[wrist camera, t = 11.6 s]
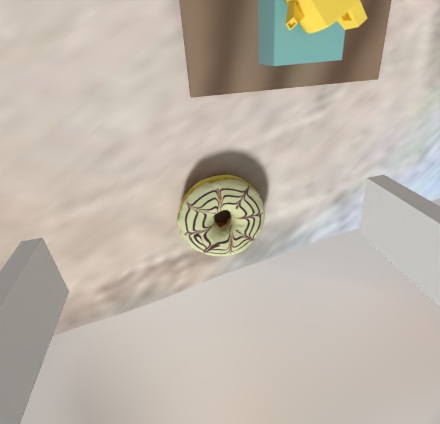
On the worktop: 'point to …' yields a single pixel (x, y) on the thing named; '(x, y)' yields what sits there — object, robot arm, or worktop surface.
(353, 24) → the teapot
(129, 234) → the worktop surface
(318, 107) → the worktop surface
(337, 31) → the base brick
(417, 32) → the worktop surface
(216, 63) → the walnut board
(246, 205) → the decorated donut
